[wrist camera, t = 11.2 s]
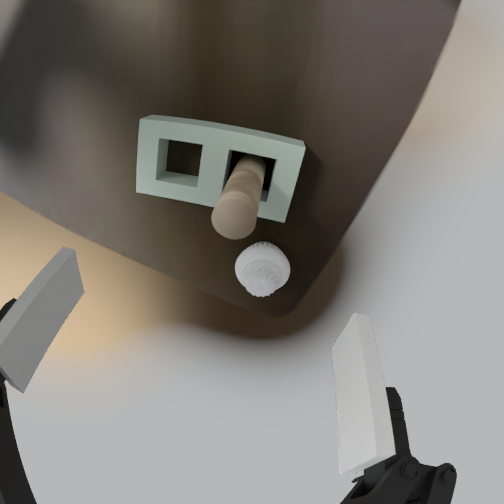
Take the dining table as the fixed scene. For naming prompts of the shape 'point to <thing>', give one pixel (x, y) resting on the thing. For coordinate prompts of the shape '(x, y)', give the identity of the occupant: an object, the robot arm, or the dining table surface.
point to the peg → (240, 199)
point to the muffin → (262, 268)
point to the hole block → (214, 162)
